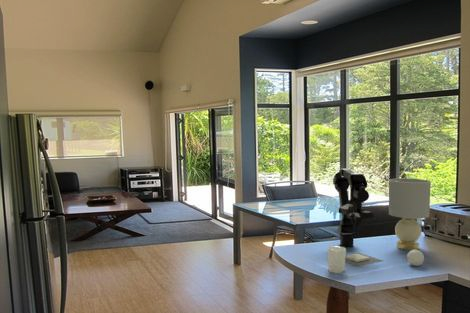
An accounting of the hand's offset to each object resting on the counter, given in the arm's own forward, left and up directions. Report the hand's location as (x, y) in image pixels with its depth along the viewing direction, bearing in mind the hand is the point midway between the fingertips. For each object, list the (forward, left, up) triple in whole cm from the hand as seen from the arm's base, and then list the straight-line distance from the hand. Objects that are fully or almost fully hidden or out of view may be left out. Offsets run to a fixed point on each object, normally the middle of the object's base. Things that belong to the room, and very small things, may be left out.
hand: (355, 229), depth 239 cm
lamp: (+5, +33, -12) cm, 36 cm away
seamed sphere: (+28, +8, -12) cm, 32 cm away
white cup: (+17, -28, -12) cm, 35 cm away
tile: (+6, -8, -11) cm, 15 cm away
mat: (+10, -8, -12) cm, 18 cm away
